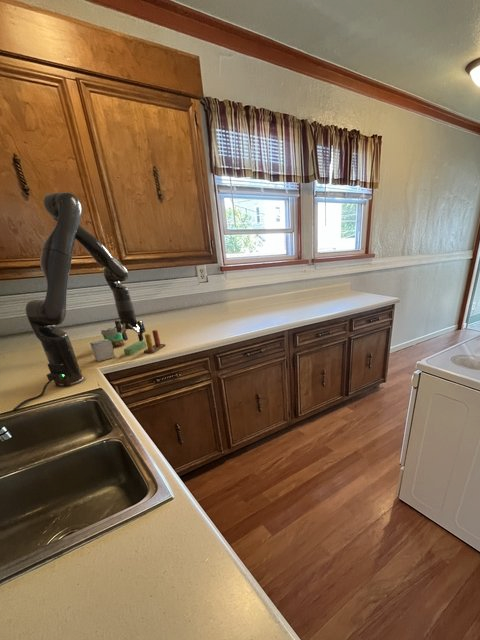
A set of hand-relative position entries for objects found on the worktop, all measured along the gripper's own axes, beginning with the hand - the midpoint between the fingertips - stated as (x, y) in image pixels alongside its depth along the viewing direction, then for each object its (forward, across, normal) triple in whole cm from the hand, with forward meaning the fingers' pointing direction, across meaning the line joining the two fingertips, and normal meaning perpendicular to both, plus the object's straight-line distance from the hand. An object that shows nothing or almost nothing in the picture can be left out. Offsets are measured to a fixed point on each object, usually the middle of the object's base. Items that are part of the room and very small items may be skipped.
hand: (133, 340), depth 168 cm
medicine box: (+5, -8, -13) cm, 16 cm away
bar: (+5, 0, 0) cm, 5 cm away
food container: (+6, -14, +6) cm, 16 cm away
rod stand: (+5, +9, +3) cm, 11 cm away
